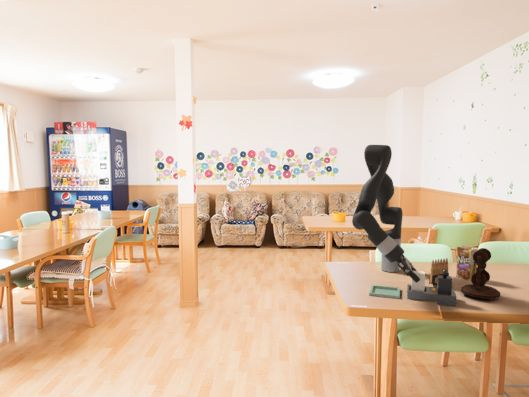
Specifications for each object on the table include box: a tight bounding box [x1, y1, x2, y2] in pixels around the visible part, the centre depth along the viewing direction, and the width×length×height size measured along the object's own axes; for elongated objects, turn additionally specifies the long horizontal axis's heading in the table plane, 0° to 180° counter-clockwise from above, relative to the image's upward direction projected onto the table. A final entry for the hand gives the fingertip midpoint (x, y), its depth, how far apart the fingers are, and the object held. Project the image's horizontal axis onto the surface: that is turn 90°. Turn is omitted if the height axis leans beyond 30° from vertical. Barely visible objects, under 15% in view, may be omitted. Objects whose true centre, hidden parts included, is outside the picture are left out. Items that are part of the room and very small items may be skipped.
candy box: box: [455, 245, 479, 283], centre depth 193 cm, size 9×4×15 cm, turn 17°
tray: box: [368, 284, 401, 300], centre depth 170 cm, size 12×12×2 cm
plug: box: [410, 270, 426, 291], centre depth 165 cm, size 4×5×10 cm
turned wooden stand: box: [460, 247, 501, 302], centre depth 168 cm, size 15×15×20 cm
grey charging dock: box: [406, 269, 458, 307], centre depth 163 cm, size 10×18×13 cm, turn 71°
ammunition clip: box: [428, 257, 450, 287], centre depth 184 cm, size 11×2×12 cm, turn 115°
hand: (418, 278), depth 165 cm, fingers open, 8 cm apart
